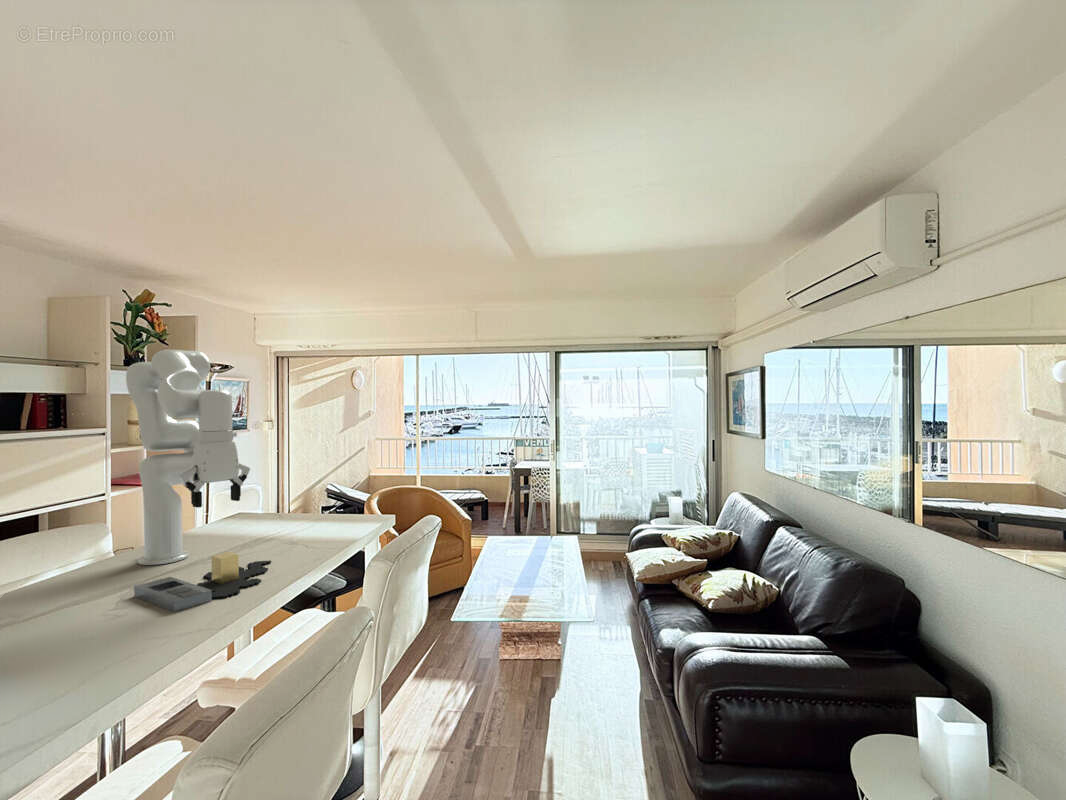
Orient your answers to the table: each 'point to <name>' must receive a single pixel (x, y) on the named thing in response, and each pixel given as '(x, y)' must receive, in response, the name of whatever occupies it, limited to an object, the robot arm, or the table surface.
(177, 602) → the rail
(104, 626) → the table surface
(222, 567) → the block
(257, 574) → the black pixelated cutout
